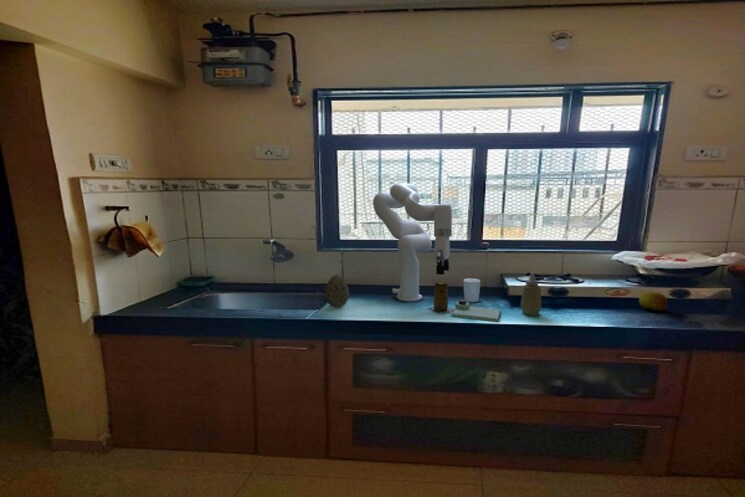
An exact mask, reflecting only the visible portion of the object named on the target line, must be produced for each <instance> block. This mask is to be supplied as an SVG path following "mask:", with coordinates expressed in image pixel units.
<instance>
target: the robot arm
mask: <svg viewBox="0 0 745 497" xmlns="http://www.w3.org/2000/svg"><path fill="white" fill-rule="evenodd" d="M420 198H421V197H420V194H419V189H418V187H417V186H416V185H415V184H413V183H403V182H402V183H401V182H400V183H399V182H398V183H395V184H393V185H392V186H391V187H390V189H389V191H385V192H384V191H383V192H379V193H377V194H375V195H374V197H373V200H372V205H373V211H374V212H375V213H376V216H377V217H378V218H379V220H381V221H382V223H383V224H384V226H385V227H386V228H387V231H389V233H390V234H391V236H392V237H393V238H394V239H396V240H398V241H397V249H398V256H399V288H392V291H391V292H392V293H393V294H397V295H396V299H397V300H399V301H402V302H417V301H421V300H423V295H422V294H420V261H419V259H418V256H417V254H425V253H428V252H429V251H430V250H431V249H432V247H433V243H432V239H431V237H430V236H429V234H428V232H427V231H426V230H425V229H424V227H423V226H422V225H421V224H420V222H433V237H435V238H434V250H433V251H434V253H433V255H434V256H433V259H434V260H435V261H436V264H435V267H436V269H435V270H436V272H435V274H436V275H443V276H444V275H445V271H447V272H448V271H449V270H450V262H449V261H450V253H451V244H450V242H451V241H450V239H451V237H452V236H453V206H452V204H449V203H440V204H439V203H420V200H421V199H420ZM402 208H404V210H405V213H406V214H407V216H409V218H411V219H407V220H406V219H402V218H401V216H400V215H399V214H398V212H396V211H395V210H393V209H402Z"/></svg>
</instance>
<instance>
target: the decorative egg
mask: <svg viewBox="0 0 745 497" xmlns="http://www.w3.org/2000/svg"><path fill="white" fill-rule="evenodd" d="M324 295H325V301H326V302H327V303H328V305H330V306H331V307H333V308H336V309H338V308H342V307H343V306H345V305H346V304H347V302H348V300H349V298H350V290H349V286H348V284H347V282H346V280H345V279H344V278H343V277H342V276H341V275H339V274H335V275H332V277H330V279H329V280H328V282H327V283H326V286H325V291H324Z"/></svg>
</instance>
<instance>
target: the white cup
mask: <svg viewBox="0 0 745 497" xmlns="http://www.w3.org/2000/svg"><path fill="white" fill-rule="evenodd" d="M462 281H463V298H464V299H463V300H466V302H467V303H478V302H479V300H480V292H481V291H480V290H481V279H479V278H474V277H473V278H472V277H470V278H464V279H463V280H462Z"/></svg>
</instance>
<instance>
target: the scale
mask: <svg viewBox="0 0 745 497" xmlns="http://www.w3.org/2000/svg"><path fill="white" fill-rule="evenodd" d="M470 305H471V304H470V302H467V301H466V305H460V304H459V301H456V302H455V306H454V307H455V309H454V311H452V312H451V313H452V314H451V316H452V317H457V318H465V319H473V320H481V321H489V322H499V319H500V315H501V309H500V308H499V309H498V308H490V307H482V306H481V307H480V306H470Z"/></svg>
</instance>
